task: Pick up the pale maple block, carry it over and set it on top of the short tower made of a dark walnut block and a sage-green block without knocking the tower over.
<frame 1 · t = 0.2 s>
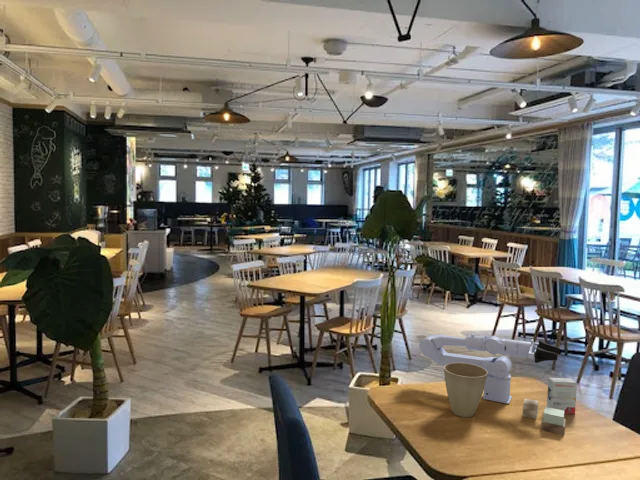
hand: (558, 353, 184), 21 cm above the table, tool horizontal, fingers open, 7 cm apart
maple block: (530, 415, 181), on the table
walnut base block: (553, 429, 171), on the table, touching sage top block
plant pot: (463, 413, 181), on the table
ink box: (560, 411, 185), on the table
sage top block: (553, 420, 171), point 3 cm above the table, touching walnut base block
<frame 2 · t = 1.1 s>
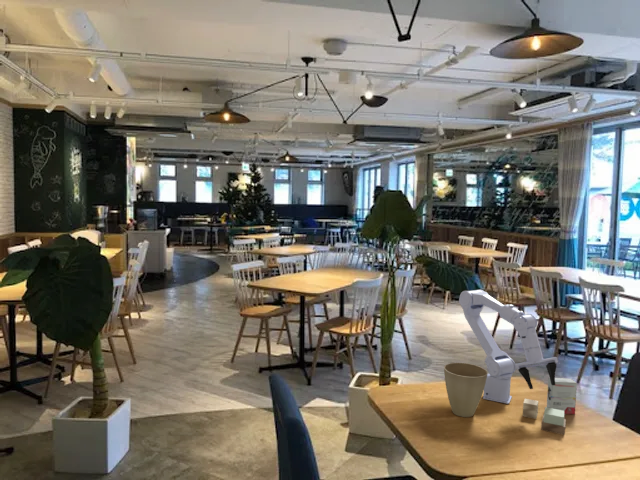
hand: (542, 387, 179), 11 cm above the table, tool tilted 20°, fingers open, 7 cm apart
nothing on the table moved.
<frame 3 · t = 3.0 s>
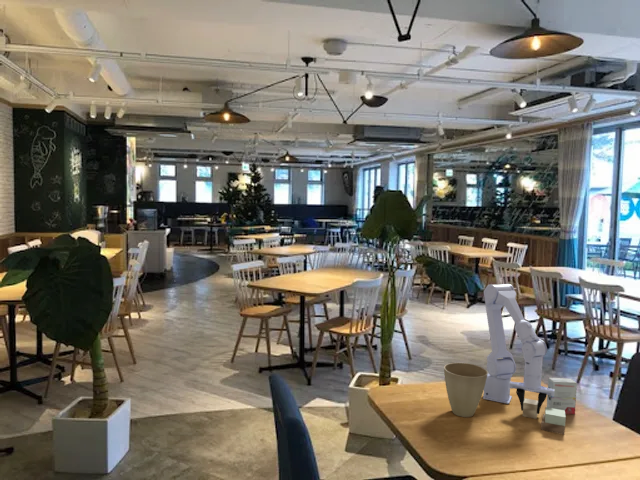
hand: (530, 411, 181), 1 cm above the table, tool pointing down, fingers closed on maple block, 4 cm apart
maple block: (530, 415, 181), on the table, touching gripper
walnut base block: (553, 429, 171), on the table
sage top block: (554, 420, 171), point 3 cm above the table
everything else where it was.
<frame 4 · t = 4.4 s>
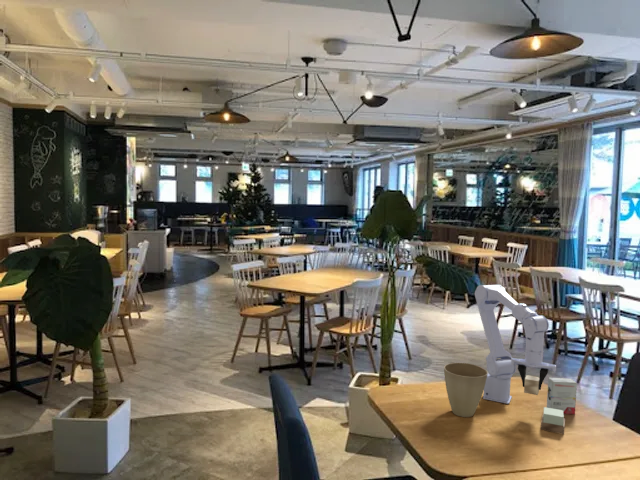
hand: (531, 387, 180), 10 cm above the table, tool pointing down, fingers closed on maple block, 4 cm apart
maple block: (531, 391, 180), point 9 cm above the table, touching gripper
walnut base block: (552, 428, 171), on the table, touching sage top block
sage top block: (553, 420, 171), point 3 cm above the table, touching walnut base block
everything else where it was.
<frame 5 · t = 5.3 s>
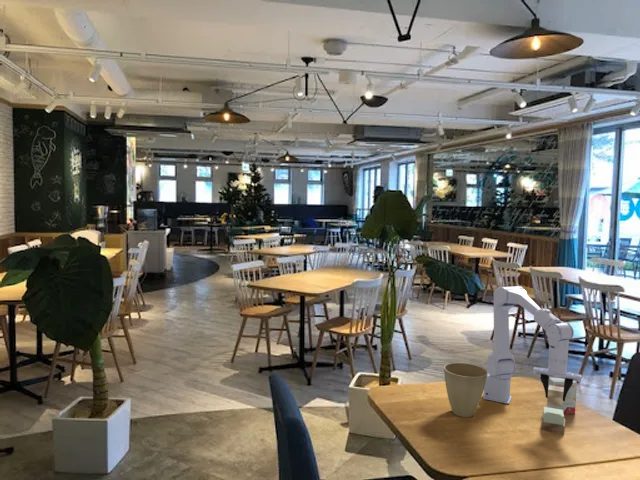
hand: (555, 398, 170), 10 cm above the table, tool pointing down, fingers closed on maple block, 4 cm apart
maple block: (555, 402, 170), point 9 cm above the table, touching gripper
everything else where it was.
when the fingers open (8 cm above the table, at t = 6.1 s): maple block drops 1 cm, resting on sage top block.
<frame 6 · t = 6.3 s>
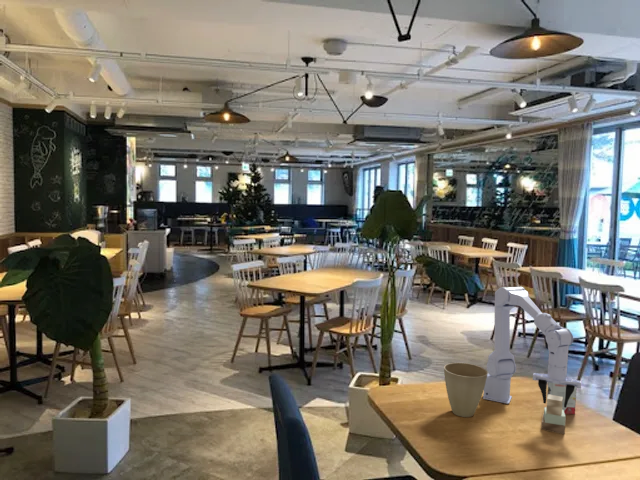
hand: (554, 404, 170), 8 cm above the table, tool pointing down, fingers open, 6 cm apart
maple block: (554, 412, 170), point 6 cm above the table, touching sage top block
walnut base block: (553, 428, 171), on the table
sage top block: (554, 420, 171), point 3 cm above the table, touching maple block
everything else where it was.
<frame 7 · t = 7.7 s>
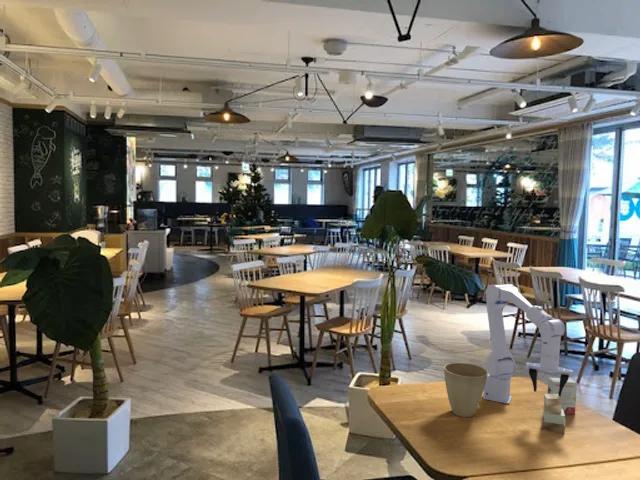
hand: (547, 393, 175), 10 cm above the table, tool pointing down, fingers open, 7 cm apart
maple block: (552, 410, 171), point 6 cm above the table, touching gripper, sage top block
walnut base block: (553, 428, 172), on the table, touching sage top block
sage top block: (553, 419, 171), point 3 cm above the table, touching maple block, walnut base block
everything else where it was.
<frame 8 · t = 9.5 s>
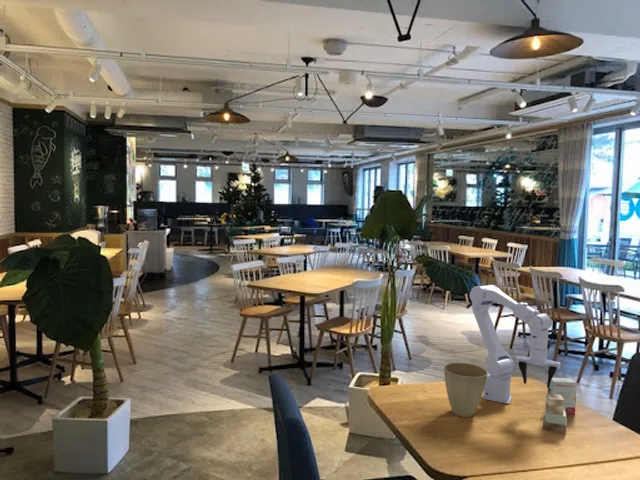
hand: (536, 384, 182), 10 cm above the table, tool pointing down, fingers open, 7 cm apart
maple block: (554, 411, 171), point 6 cm above the table, touching sage top block
everything else where it was.
at the end: maple block 0.4 cm off-centre on the sage top block, point 3.0 cm above the sage top block's base; maple block tilted 0°; sage top block moved 0.9 cm from its start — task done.
